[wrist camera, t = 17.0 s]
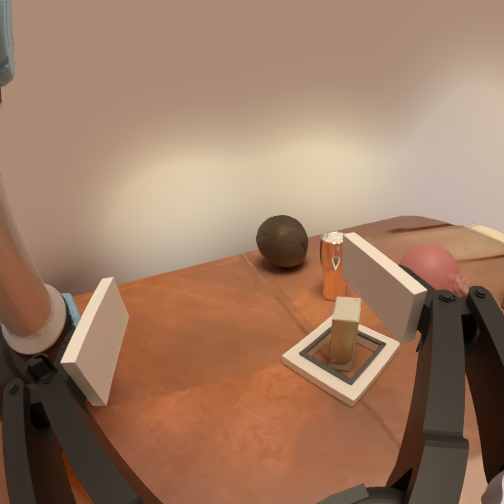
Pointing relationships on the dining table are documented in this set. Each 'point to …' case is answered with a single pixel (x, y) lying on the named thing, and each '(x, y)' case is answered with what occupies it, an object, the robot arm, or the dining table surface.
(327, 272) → the beer glass
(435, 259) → the balloon
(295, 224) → the dark brown ball
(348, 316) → the skincare box
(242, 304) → the dining table surface
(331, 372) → the socket block
